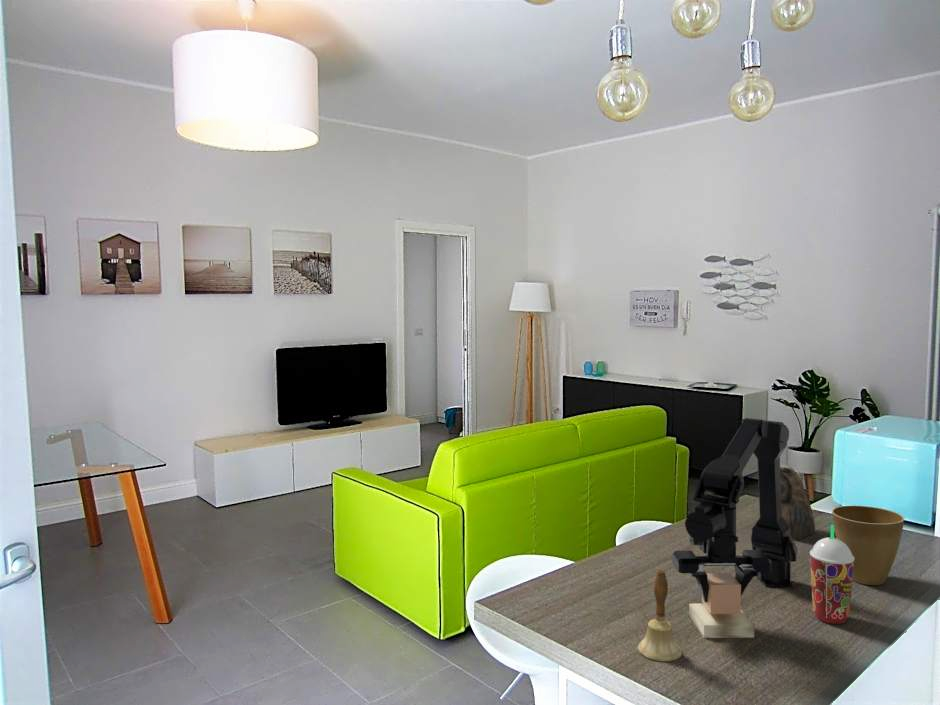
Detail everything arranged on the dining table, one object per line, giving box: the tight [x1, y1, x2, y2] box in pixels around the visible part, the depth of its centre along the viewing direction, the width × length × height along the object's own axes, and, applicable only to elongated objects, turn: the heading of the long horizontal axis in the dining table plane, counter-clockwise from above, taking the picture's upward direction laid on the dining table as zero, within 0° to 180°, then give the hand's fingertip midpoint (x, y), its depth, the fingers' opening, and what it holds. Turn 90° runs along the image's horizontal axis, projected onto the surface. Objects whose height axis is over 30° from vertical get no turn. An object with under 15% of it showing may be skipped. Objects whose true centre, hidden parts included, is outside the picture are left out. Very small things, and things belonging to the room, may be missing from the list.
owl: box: [780, 462, 816, 541], centre depth 198 cm, size 13×13×20 cm
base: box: [688, 602, 755, 639], centre depth 143 cm, size 10×10×3 cm
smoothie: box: [809, 524, 855, 625], centre depth 144 cm, size 8×8×20 cm
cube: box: [701, 572, 742, 614], centre depth 142 cm, size 6×6×6 cm
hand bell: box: [637, 569, 683, 662], centre depth 133 cm, size 8×8×16 cm
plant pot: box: [831, 505, 905, 586], centre depth 164 cm, size 15×15×16 cm
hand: (720, 601), depth 142 cm, fingers closed on cube, 6 cm apart
